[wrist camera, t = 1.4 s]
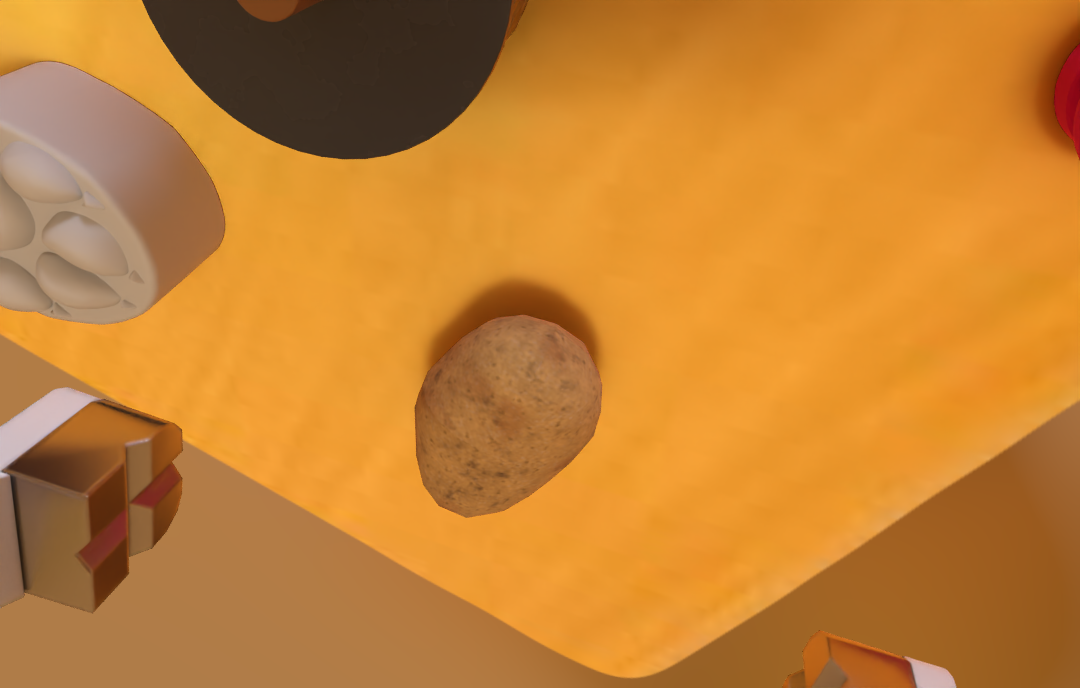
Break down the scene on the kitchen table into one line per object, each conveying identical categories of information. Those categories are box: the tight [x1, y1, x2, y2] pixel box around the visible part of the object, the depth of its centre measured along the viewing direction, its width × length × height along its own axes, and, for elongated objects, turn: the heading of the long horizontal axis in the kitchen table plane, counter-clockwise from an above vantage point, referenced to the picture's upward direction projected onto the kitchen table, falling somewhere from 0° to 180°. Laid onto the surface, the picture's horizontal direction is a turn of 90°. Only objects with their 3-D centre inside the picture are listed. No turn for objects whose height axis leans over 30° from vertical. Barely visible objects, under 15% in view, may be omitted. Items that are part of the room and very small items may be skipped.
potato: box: [415, 315, 602, 518], centre depth 46 cm, size 10×14×8 cm
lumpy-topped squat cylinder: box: [0, 61, 225, 324], centre depth 43 cm, size 10×13×9 cm
